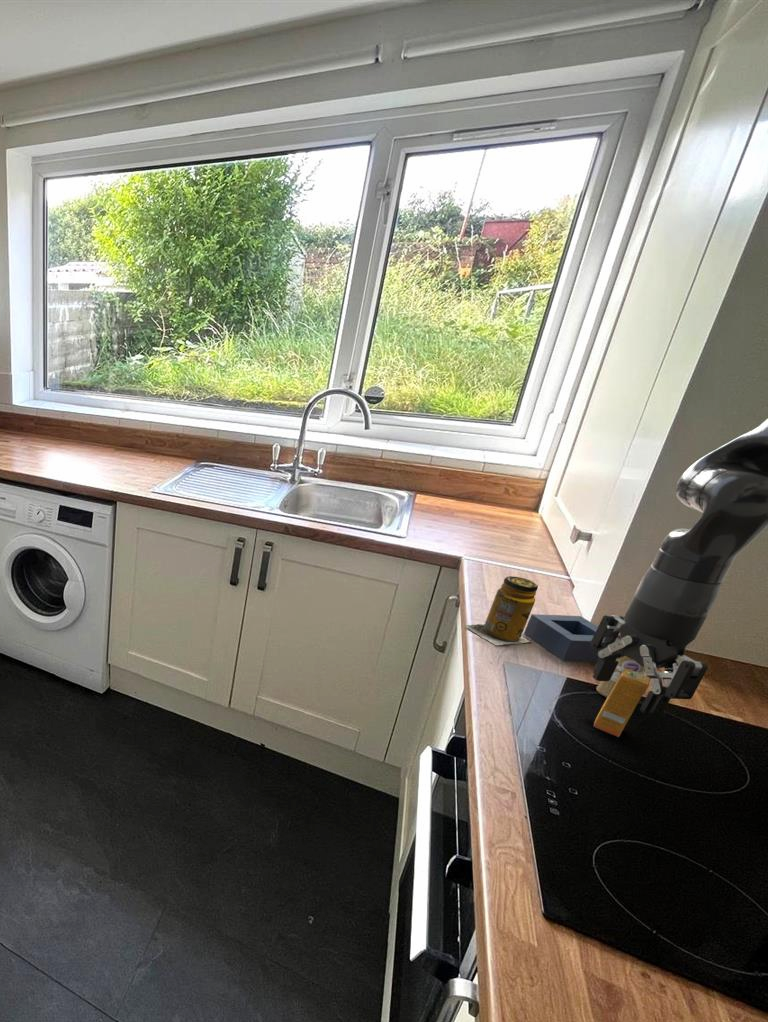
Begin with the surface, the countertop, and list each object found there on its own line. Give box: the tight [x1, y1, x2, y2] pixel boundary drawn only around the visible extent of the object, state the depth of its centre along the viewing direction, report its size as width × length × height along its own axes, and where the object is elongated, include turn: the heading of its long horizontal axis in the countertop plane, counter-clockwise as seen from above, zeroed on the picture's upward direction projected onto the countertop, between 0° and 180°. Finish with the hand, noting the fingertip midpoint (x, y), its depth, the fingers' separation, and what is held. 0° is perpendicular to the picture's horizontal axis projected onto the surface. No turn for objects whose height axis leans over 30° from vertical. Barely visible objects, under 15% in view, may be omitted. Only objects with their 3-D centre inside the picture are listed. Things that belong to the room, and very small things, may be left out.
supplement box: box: [593, 668, 651, 738], centre depth 89 cm, size 3×3×10 cm
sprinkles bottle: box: [596, 656, 646, 699], centre depth 96 cm, size 5×5×13 cm
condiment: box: [464, 575, 539, 646], centre depth 115 cm, size 7×8×12 cm
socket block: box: [523, 613, 621, 663], centre depth 112 cm, size 10×10×4 cm
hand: (623, 695), depth 89 cm, fingers open, 7 cm apart
